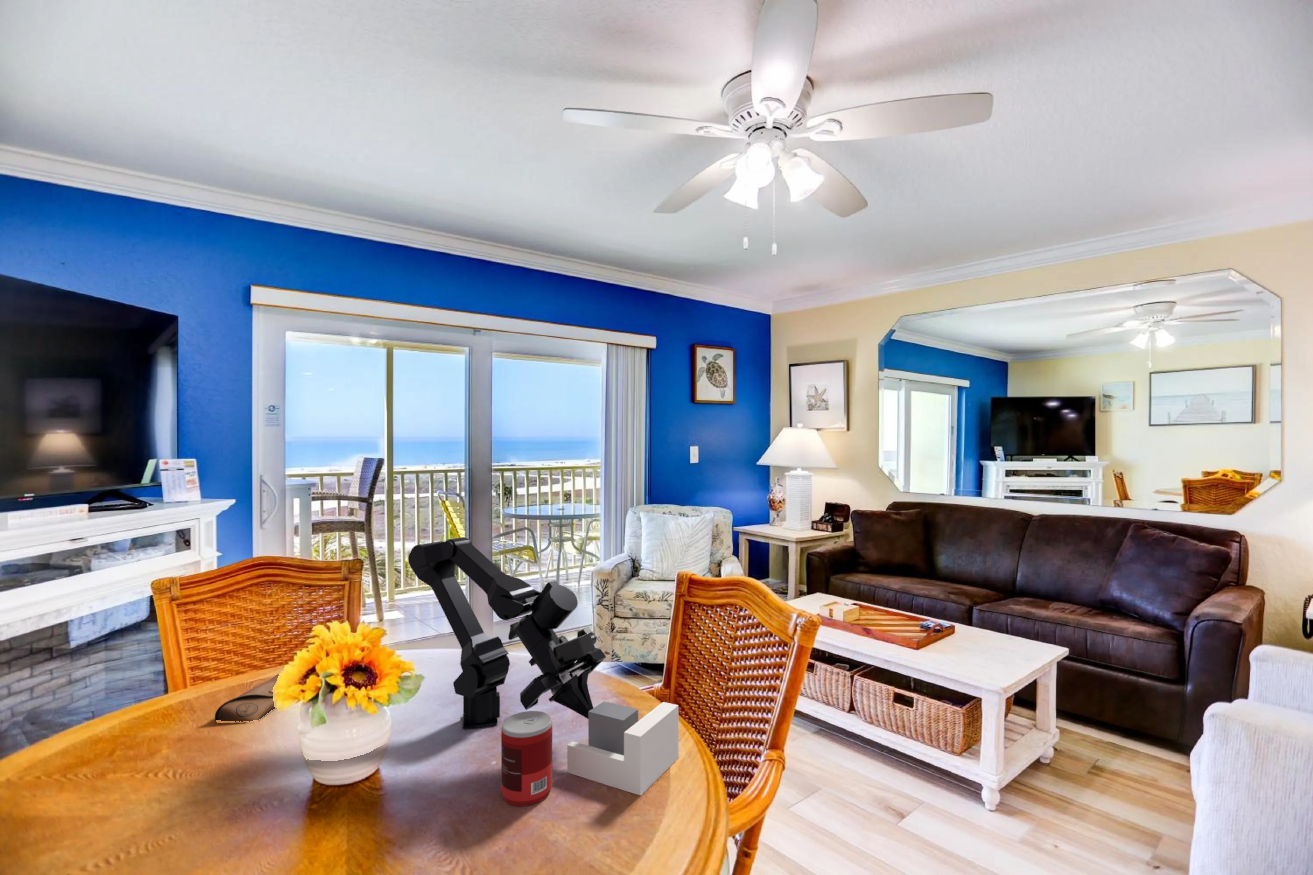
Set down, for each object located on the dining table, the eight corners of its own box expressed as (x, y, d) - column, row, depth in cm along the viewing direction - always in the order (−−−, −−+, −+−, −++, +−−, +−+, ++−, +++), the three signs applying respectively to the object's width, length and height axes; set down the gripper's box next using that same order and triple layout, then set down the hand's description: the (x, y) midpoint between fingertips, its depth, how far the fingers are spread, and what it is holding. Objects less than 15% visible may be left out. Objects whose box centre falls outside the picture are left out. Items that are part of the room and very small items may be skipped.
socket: (567, 772, 100) (567, 717, 100) (610, 739, 112) (610, 689, 112) (640, 795, 94) (640, 736, 94) (678, 757, 105) (678, 705, 105)
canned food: (557, 779, 98) (557, 711, 98) (543, 808, 90) (543, 734, 90) (511, 777, 99) (511, 709, 99) (493, 806, 91) (493, 732, 91)
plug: (588, 761, 103) (588, 711, 103) (604, 749, 107) (604, 701, 108) (636, 776, 99) (636, 723, 99) (651, 762, 103) (650, 712, 103)
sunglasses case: (256, 723, 118) (239, 693, 118) (225, 741, 118) (209, 711, 119) (311, 687, 136) (297, 661, 136) (285, 703, 136) (270, 677, 137)
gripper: (533, 630, 100) (588, 711, 95) (597, 604, 117) (647, 672, 111) (497, 669, 104) (548, 750, 99) (564, 639, 120) (611, 707, 115)
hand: (592, 717), depth 106 cm, fingers closed
